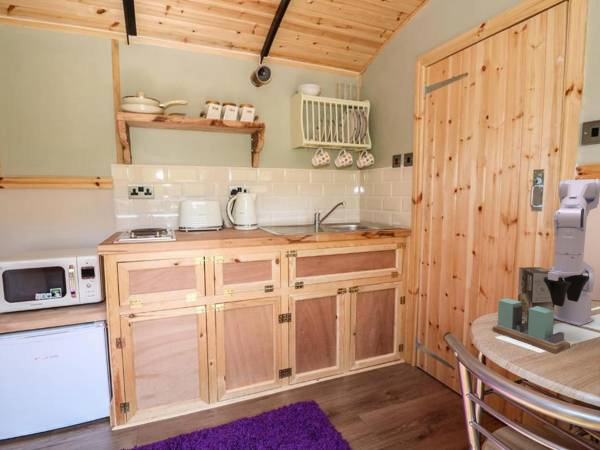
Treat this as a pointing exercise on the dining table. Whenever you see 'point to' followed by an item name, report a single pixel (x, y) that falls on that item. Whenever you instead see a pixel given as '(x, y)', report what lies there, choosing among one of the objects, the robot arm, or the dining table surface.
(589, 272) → the robot arm
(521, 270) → the coffee box
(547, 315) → the teal rectangular block
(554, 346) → the rail
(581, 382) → the dining table surface
